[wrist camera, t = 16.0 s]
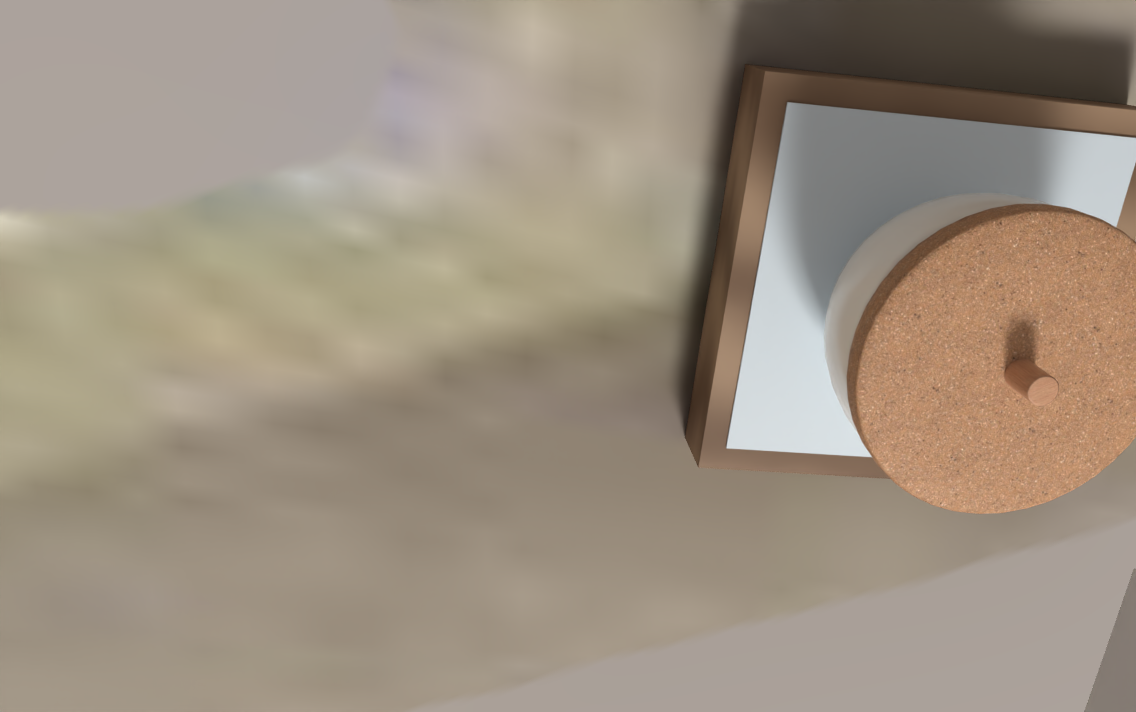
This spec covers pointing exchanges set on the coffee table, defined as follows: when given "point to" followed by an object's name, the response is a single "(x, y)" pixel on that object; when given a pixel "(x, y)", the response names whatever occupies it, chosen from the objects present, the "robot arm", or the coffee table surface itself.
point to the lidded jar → (988, 349)
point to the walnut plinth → (859, 233)
